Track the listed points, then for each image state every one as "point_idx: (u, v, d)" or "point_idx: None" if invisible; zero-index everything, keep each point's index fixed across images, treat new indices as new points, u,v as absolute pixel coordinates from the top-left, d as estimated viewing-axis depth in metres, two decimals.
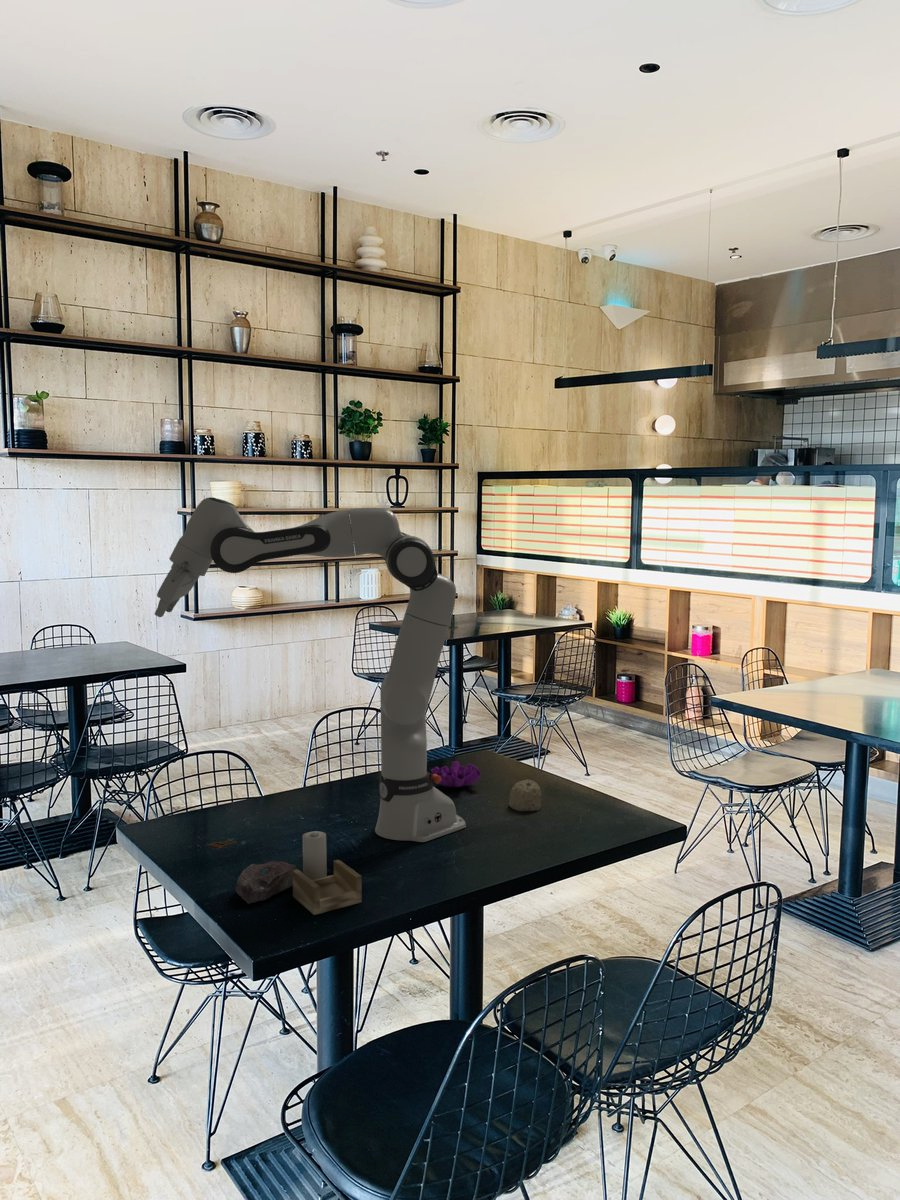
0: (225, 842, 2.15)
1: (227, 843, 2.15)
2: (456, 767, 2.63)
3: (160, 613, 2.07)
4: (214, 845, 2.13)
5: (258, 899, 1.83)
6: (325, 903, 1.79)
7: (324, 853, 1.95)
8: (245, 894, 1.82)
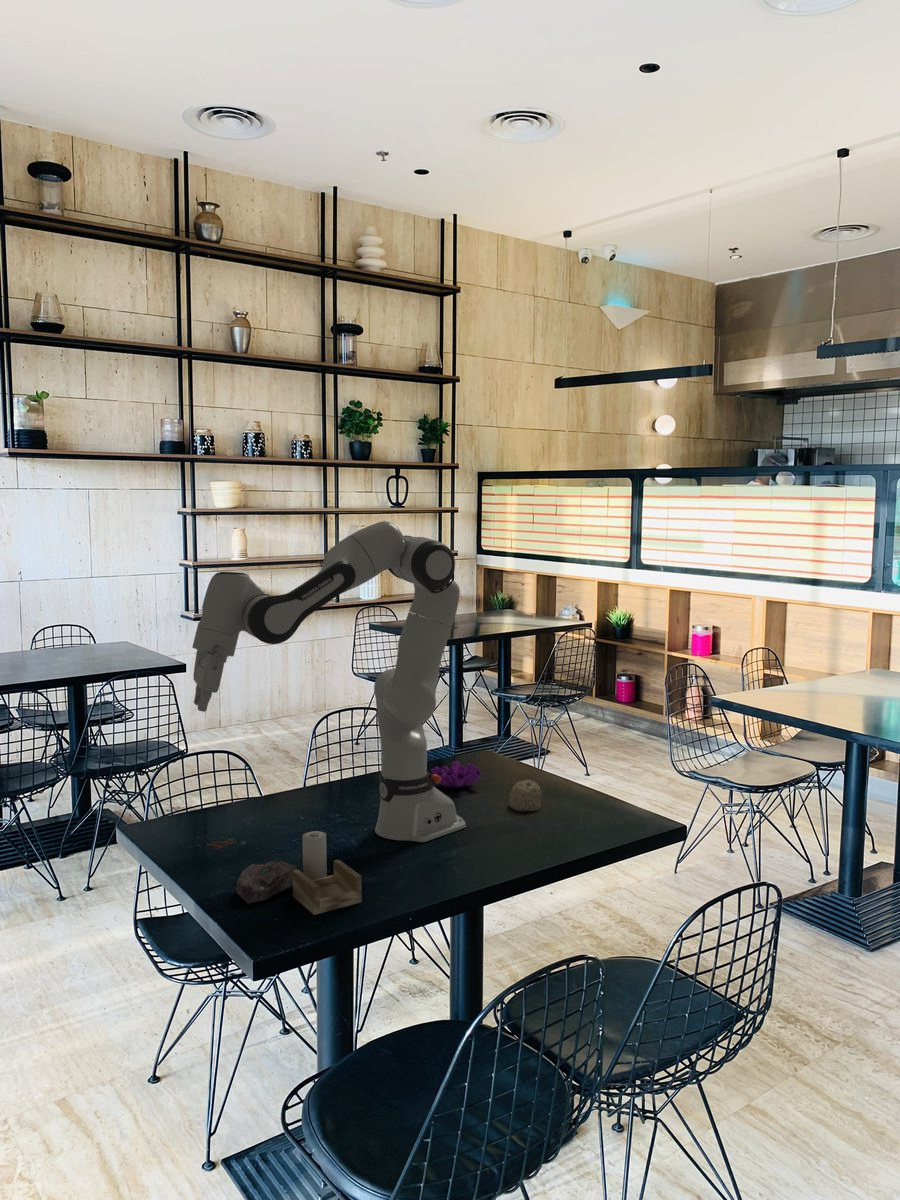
0: (225, 842, 2.15)
1: (227, 843, 2.15)
2: (456, 767, 2.63)
3: (204, 707, 1.90)
4: (214, 845, 2.13)
5: (258, 899, 1.83)
6: (325, 903, 1.79)
7: (324, 853, 1.95)
8: (246, 894, 1.82)
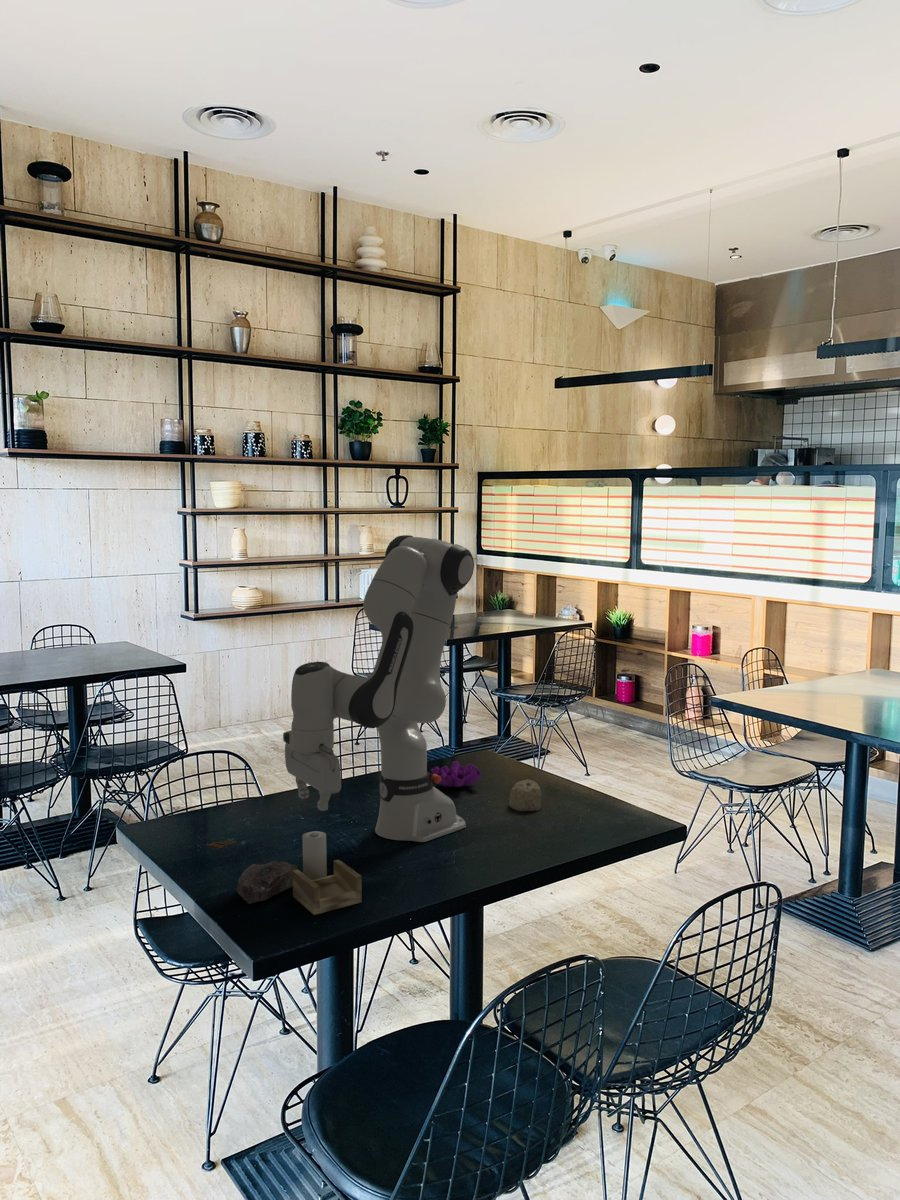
0: (225, 842, 2.15)
1: (227, 843, 2.15)
2: (456, 767, 2.63)
3: (325, 806, 1.90)
4: (214, 845, 2.13)
5: (259, 899, 1.83)
6: (325, 903, 1.79)
7: (324, 853, 1.95)
8: (246, 894, 1.82)
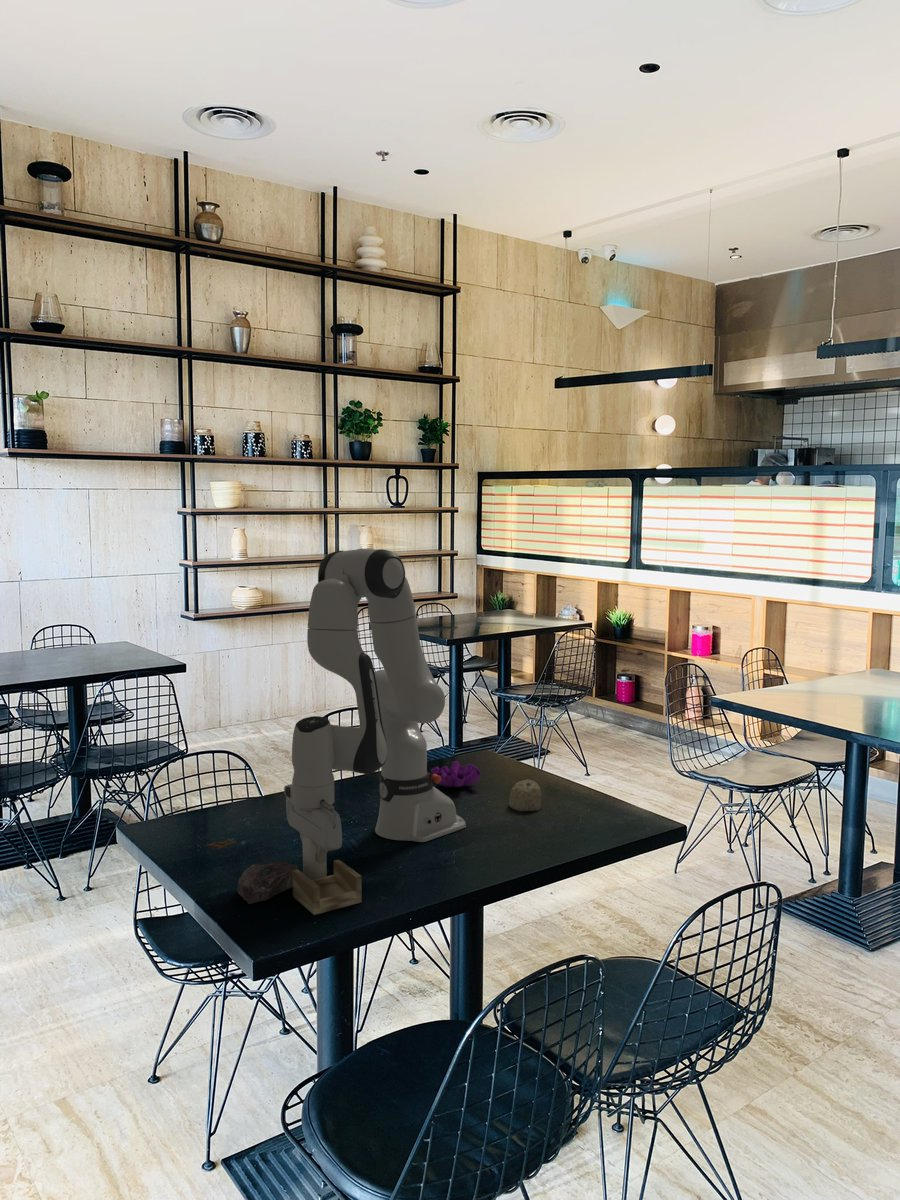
0: (225, 842, 2.15)
1: (227, 843, 2.15)
2: (456, 767, 2.63)
3: (323, 859, 1.92)
4: (214, 845, 2.13)
5: (259, 899, 1.83)
6: (325, 903, 1.79)
7: None
8: (247, 894, 1.82)
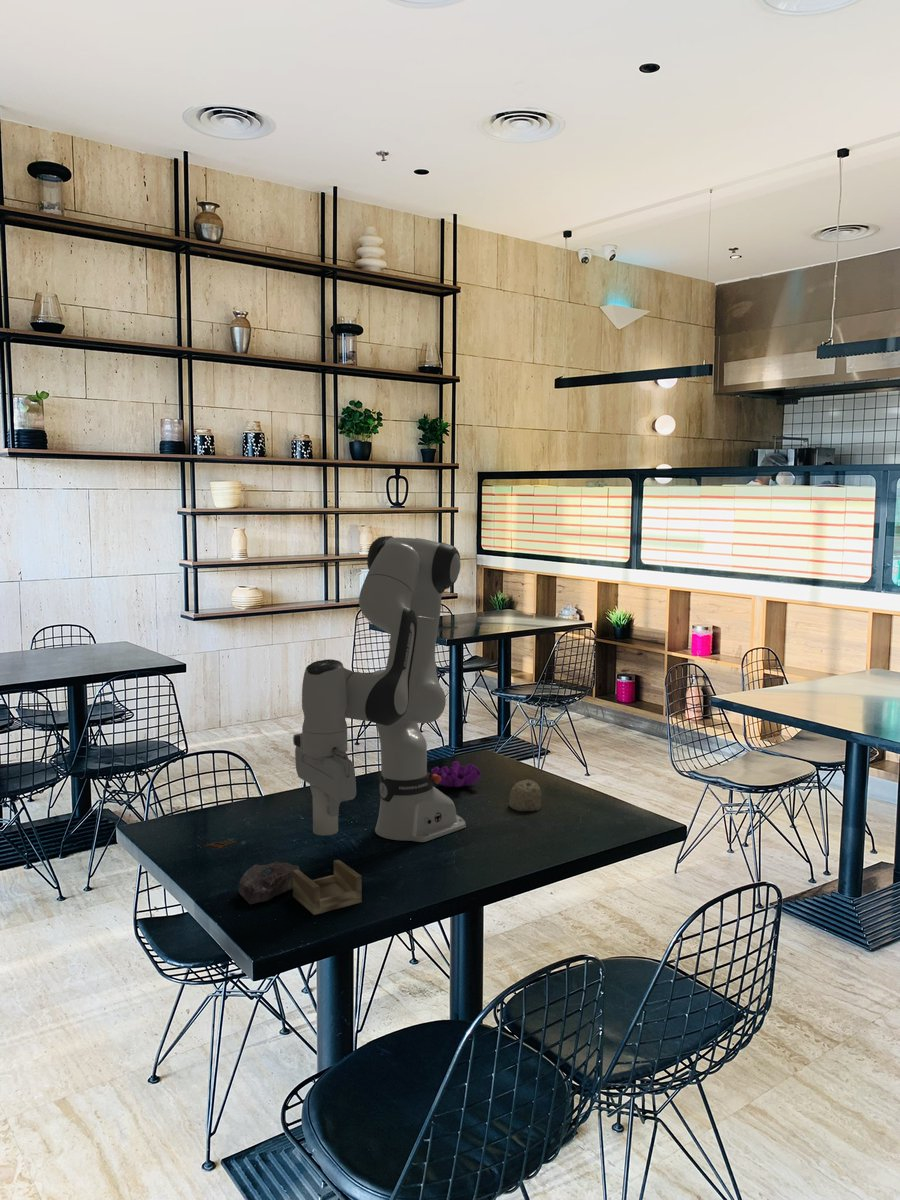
0: (224, 842, 2.15)
1: (226, 843, 2.15)
2: (456, 767, 2.63)
3: (335, 811, 1.79)
4: (214, 845, 2.13)
5: (260, 900, 1.82)
6: (325, 903, 1.79)
7: None
8: (248, 894, 1.82)
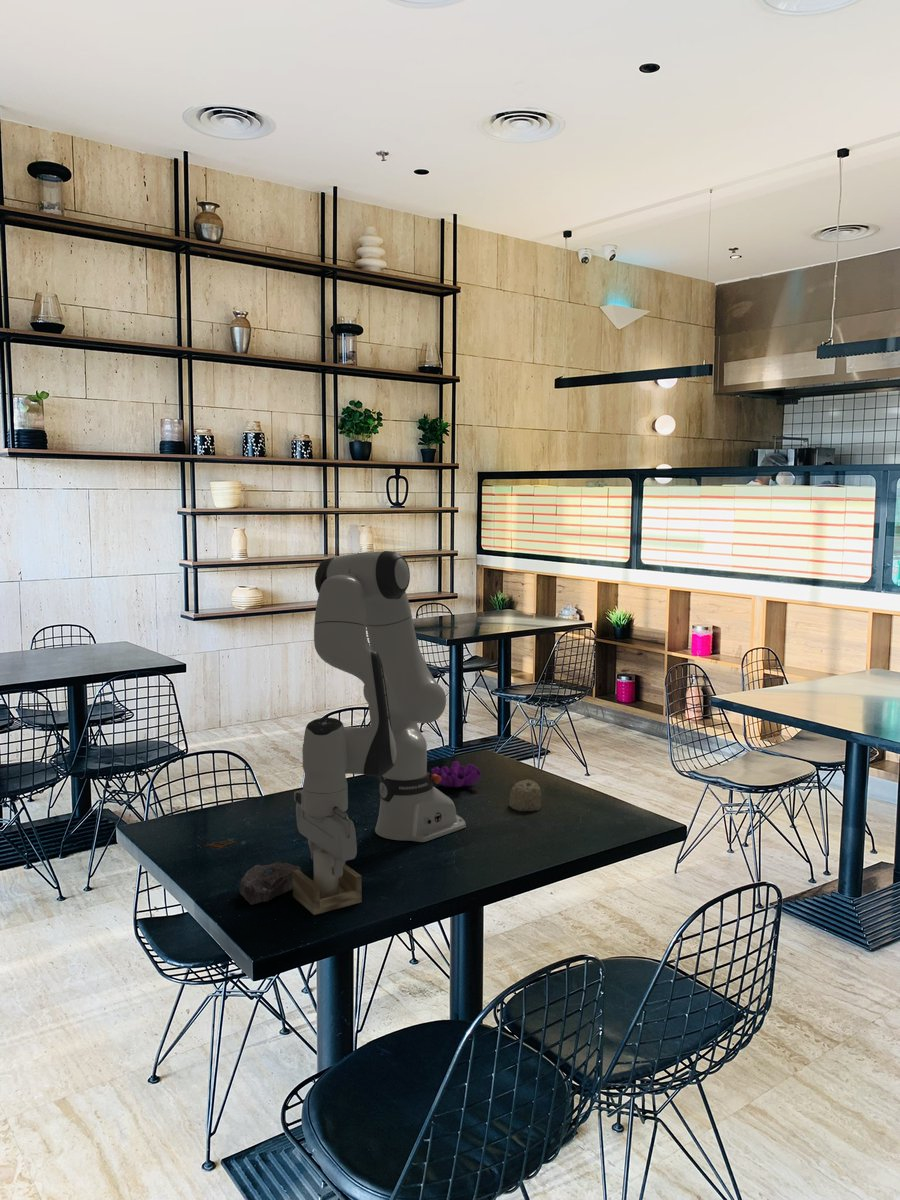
0: (224, 842, 2.15)
1: (226, 843, 2.15)
2: (456, 767, 2.63)
3: (340, 872, 1.79)
4: (213, 845, 2.13)
5: (261, 900, 1.82)
6: (325, 903, 1.79)
7: None
8: (248, 894, 1.82)
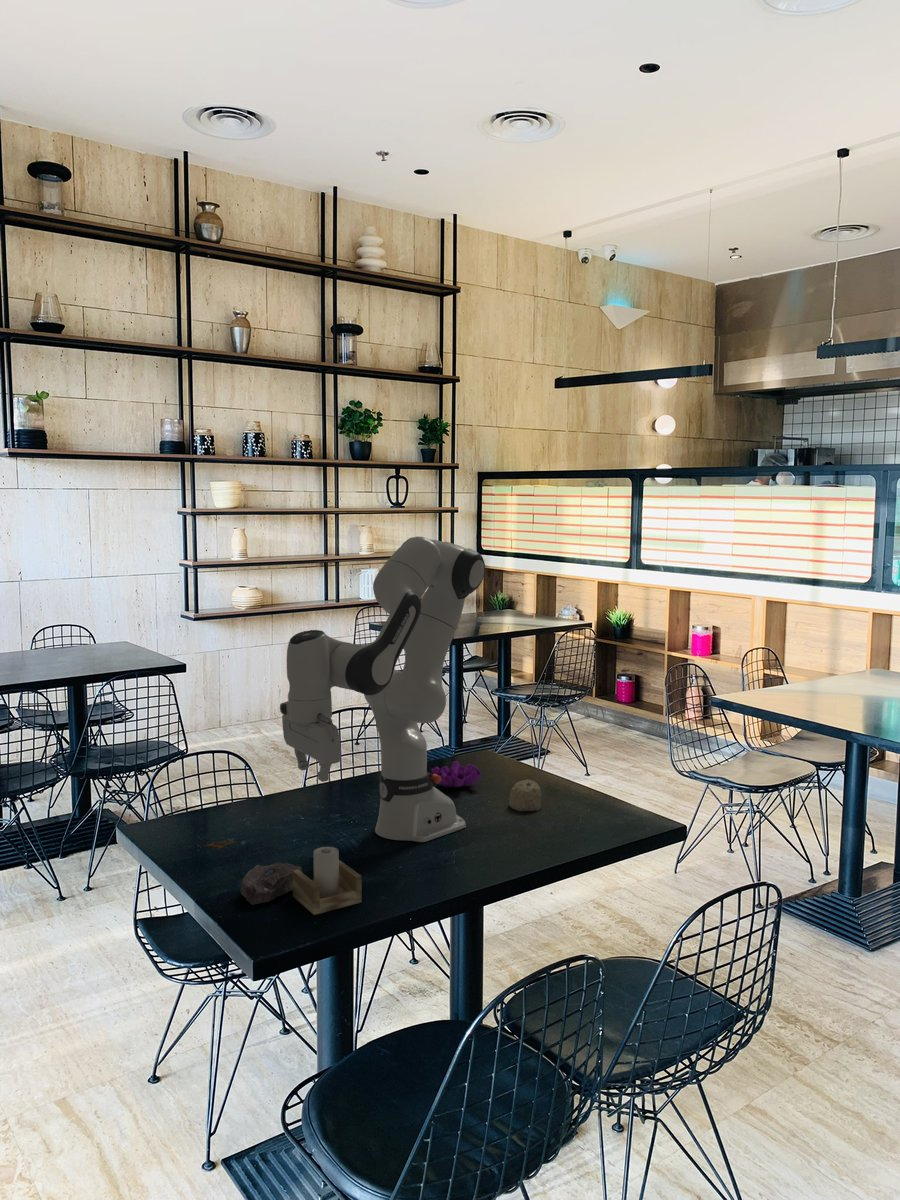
0: (224, 842, 2.15)
1: (226, 843, 2.15)
2: (456, 767, 2.63)
3: (326, 776, 1.86)
4: (213, 845, 2.13)
5: (262, 900, 1.82)
6: (325, 903, 1.79)
7: (336, 870, 1.83)
8: (249, 895, 1.82)
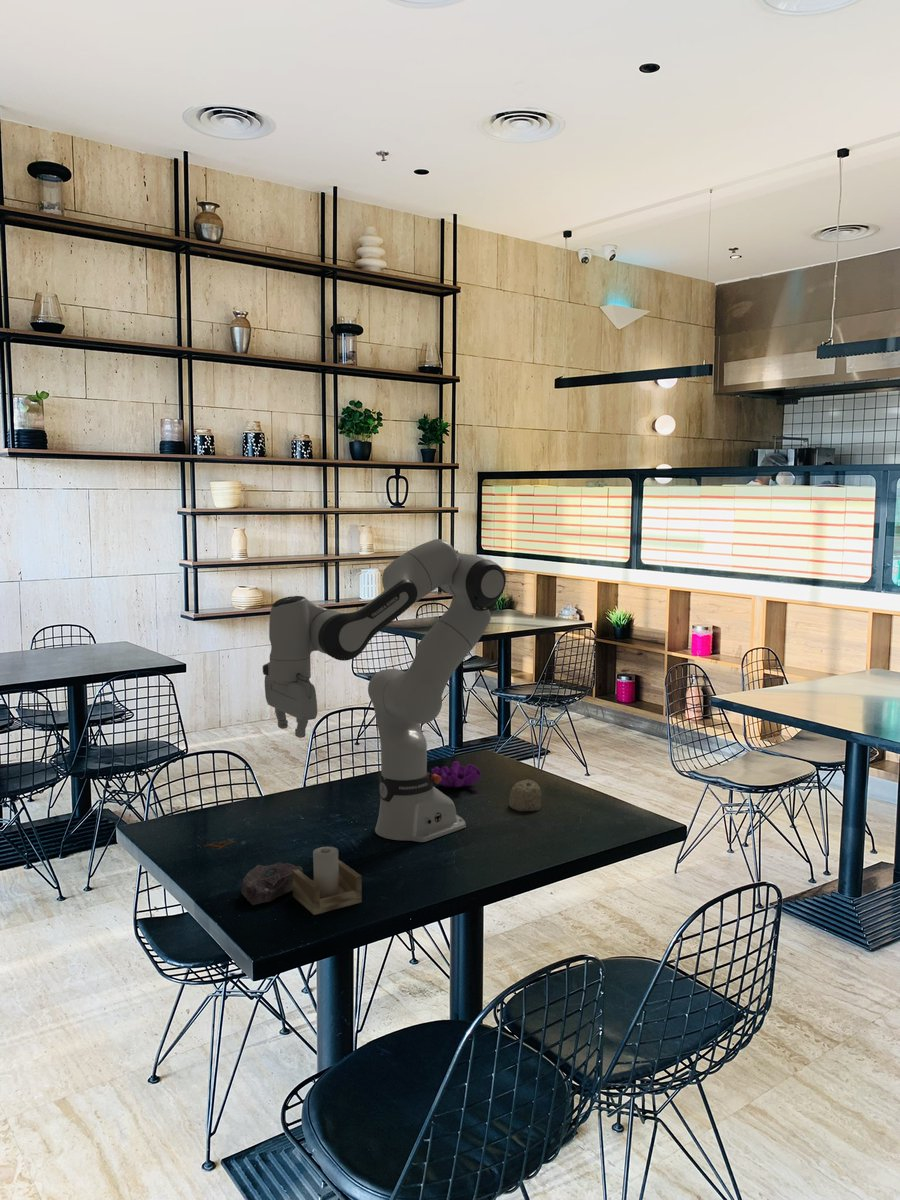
0: (224, 842, 2.15)
1: (226, 843, 2.15)
2: (456, 767, 2.63)
3: (302, 733, 1.98)
4: (213, 845, 2.13)
5: (263, 901, 1.82)
6: (325, 903, 1.79)
7: (336, 870, 1.83)
8: (250, 895, 1.82)
